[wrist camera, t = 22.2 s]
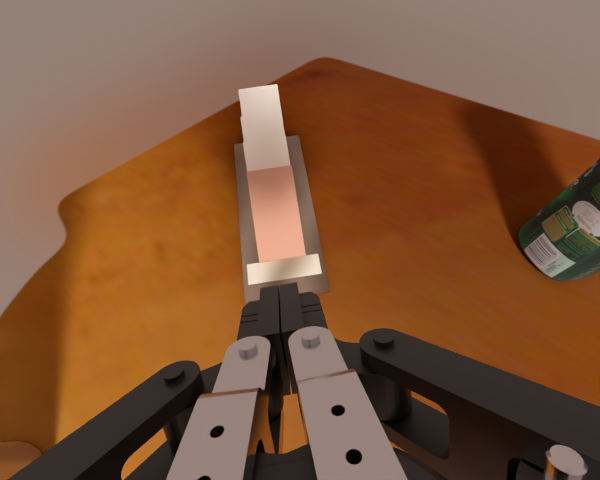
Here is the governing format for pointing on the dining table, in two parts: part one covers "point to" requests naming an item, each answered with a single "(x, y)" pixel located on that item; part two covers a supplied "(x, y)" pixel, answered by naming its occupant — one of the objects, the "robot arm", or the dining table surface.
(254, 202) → the domino
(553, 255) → the coffee jar
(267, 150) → the domino
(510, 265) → the dining table surface
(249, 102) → the domino
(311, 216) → the domino board
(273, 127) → the domino
